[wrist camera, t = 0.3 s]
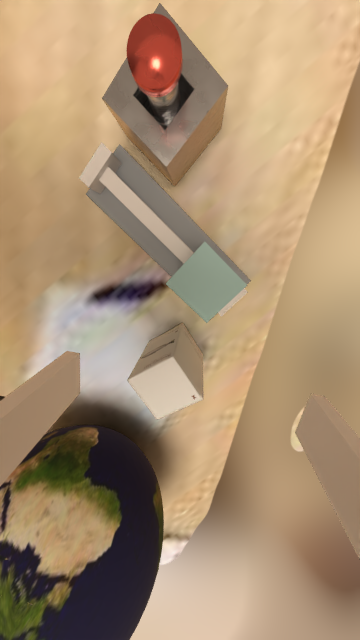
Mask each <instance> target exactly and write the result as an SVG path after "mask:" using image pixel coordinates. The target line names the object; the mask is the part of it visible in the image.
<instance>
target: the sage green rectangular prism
mask: <svg viewBox="0 0 360 640" xmlns="http://www.w3.org/2000/svg"><path fill="white" fill-rule="evenodd" d="M166 285H167V286H169V287H170V288H171V289H172V290H173V291H174V292H175V293H176V294H177V295H178V296H179V297H180V298H181V299H182V300H183V301H184V302H185V303H186V304H187V305H189V306H190V307H191V308H192V309H193V310H194V311H195V312H196V313H197V314H198V315H199V316H200V317H201V318H202V319H203V320H204V321H205V322H206V323H207V322H208V321H209V320H211V319H212V318H213V317H214V316H215V315H216V314H217V313H218V312H219V311H220V310H221V309H222V308H224V307H225V306H226V305H227V304H228V303H229V302H230V301H231V300H232V299H233V298H234V297H235V296H236V295H238V294H239V293H240V292H241V291H242V290H243V289H244V288H245V287H246V286H247V284H246V283H245V282H244V281H243V280H242V279H241V278H240V277H239V276H238V275H237V274H236V273H235V272H234V271H233V270H232V269H231V268H230V267H229V266H228V265H227V264H226V263H225V262H224V261H223V260H222V259H221V258H220V257H219V255H218V254H217V253H216V252H215V251H214V250H213V249H212V248H211V247H210V246H209V245H208V244H207V243H206V242H204V243H203V244H202V245H201V246H200V247H199V248H198V249H197V250H196V251H195V252H194V253H193V255H192V256H191V257H190V258H189V259H188V260H187V261H186V262H185V263H184V264H183V265H182V266H181V268H180V269H179V270H178V271H177V272H176V273H175V274H174V275H173V276H172V277H171V278H170V279H169V281H168V282H167V283H166Z"/></svg>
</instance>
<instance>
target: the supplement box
mask: <svg viewBox="0 0 360 640" xmlns="http://www.w3.org/2000/svg"><path fill="white" fill-rule="evenodd" d="M127 381H128V382H129V384H130V385H131V386H132V388H133V389H134V390H135V391H136V393H137V394H138V395H139V397H140V398H141V399H142V401H143V402H144V403H145V405H146V406H147V407H148V409H149V410H150V412H151V413H152V414H153V416H154V417H155V418H156V419H157V420H158V419H161V418H163V417H165V416H167V415H170V414H172V413H174V412H176V411H179V410H181V409H183V408H185V407H188V406H190V405H192V404H194V403H197V402H199V401H202V400H203V354H202V352H201V351H200V349H199V348H198V346H197V344H196V343H195V341H194V340H193V338H192V336H191V335H190V333H189V332H188V330H187V329H186V327H185V325H184V324H183V323H181V324H179V325H178V326H176V327H174V328H173V329H171V330H169V331H168V332H166V333H164V334H162V335H160V336H158V337H156V338H154V339H152V340H150V341H149V343H148V344H147V346H146V348H145V350H144V351H143V353H142V355H141V357H140V358H139V360H138V362H137V364H136V366H135V367H134V369H133V371H132V373H131V375H130V376H129V378H128V380H127Z"/></svg>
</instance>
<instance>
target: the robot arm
mask: <svg viewBox="0 0 360 640" xmlns="http://www.w3.org/2000/svg"><path fill="white" fill-rule="evenodd" d="M79 394H80V353H75V352H69V351H66V352H65V353H64V354H62V355H61V356H60V357H58V358H57V359H56V360H54V361H53V362H52V363H50V364H49V365H48V366H46V367H45V368H44V369H42V370H41V371H40V372H38V373H37V374H36V375H34V376H33V377H31V378H30V379H29V380H27V381H26V382H25V383H23V384H22V385H21V386H19V387H18V388H17V389H15V390H14V391H13V392H11V393H10V394H9V395H7V396H6V397H4V396H0V486H1V485H2V484H3V483H4V481H5V480H6V479H7V478H8V477H9V476H10V474H11V473H12V472H13V471H14V470H15V469H16V467H17V466H18V465H19V464H20V463H21V462H22V460H23V459H24V458H25V457H26V456H27V454H28V453H29V452H30V451H31V450H32V449H33V447H34V446H35V445H36V444H37V443H38V442H39V440H40V439H41V438H42V437H43V436H44V435H45V433H46V432H47V431H48V430H49V429H50V428H51V426H52V425H53V424H54V423H55V422H56V421H57V419H58V418H59V417H60V416H61V415H62V414H63V412H64V411H65V410H66V409H67V408H68V407H69V405H70V404H71V403H72V402H73V401H74V399H75V398H76V397H77V396H78V395H79ZM295 433H296V435H297V437H298V439H299V441H300V443H301V445H302V447H303V449H304V451H305V453H306V455H307V457H308V459H309V461H310V463H311V464H312V467H313V469H314V471H315V473H316V475H317V477H318V479H319V481H320V483H321V485H322V487H323V488H324V490H325V492H326V494H327V496H328V498H329V500H330V502H331V504H332V506H333V508H334V510H335V512H336V514H337V516H338V518H339V520H340V522H341V524H342V526H343V528H344V530H345V532H346V534H347V536H348V538H349V540H350V542H351V544H352V546H353V548H354V550H355V551H356V554H357V556H358V557H359V559H360V438H359V437H358V435H357V434H356V433H355V432H354V431H353V430H352V428H351V427H350V426H349V425H348V423H347V422H346V421H345V420H344V419H343V417H342V416H341V415H340V414H339V413H338V411H337V410H336V409H335V408H334V407H333V405H332V404H331V403H330V402H329V401H328V399H327V398H326V397H325V396H321V395H316V394H310V396H309V399H308V401H307V404H306V406H305V409H304V411H303V414H302V416H301V419H300V421H299V424H298V427H297V429H296V432H295Z"/></svg>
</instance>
